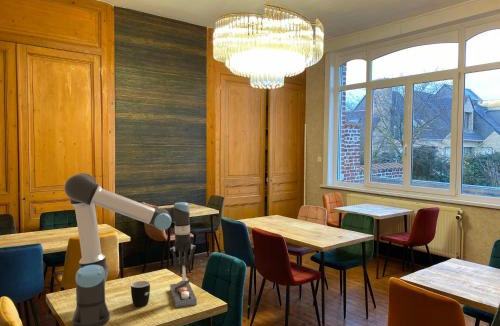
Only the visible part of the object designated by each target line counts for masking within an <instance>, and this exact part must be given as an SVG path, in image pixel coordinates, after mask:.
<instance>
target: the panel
mask: <svg viewBox="0 0 500 326" xmlns="http://www.w3.org/2000/svg"><path fill="white" fill-rule="evenodd" d="M175 284H176V283H173V284H171V283H170V284H169V290H170V294H171V297H172V300H173V304H174V306H175V308H183V307H190V306H197V305H198V299H197V297H196V295H195V293H194V291H193V288H192V286H191V284H190V282H189V283H187V284H185V285H184V286H182V287H186V288H187V291H188V292H189V299H185V300H181V295H180V288H181V287H180V288H178V289H177V290H175V288H174V285H175Z"/></svg>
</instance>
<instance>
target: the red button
mask: <svg viewBox="0 0 500 326" xmlns="http://www.w3.org/2000/svg"><path fill="white" fill-rule="evenodd" d="M184 291H187V288H186V287H181V288H180V295H181V292H184Z"/></svg>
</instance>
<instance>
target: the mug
mask: <svg viewBox="0 0 500 326" xmlns="http://www.w3.org/2000/svg"><path fill="white" fill-rule="evenodd" d="M150 293H151V282H150V281H148V280H139V281H135V282H132V283H131V284H130V295H131V301H132V304H133V306H134V307H136V308H142V307H145V306H148V303H149V301H150Z"/></svg>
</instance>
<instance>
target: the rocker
mask: <svg viewBox="0 0 500 326" xmlns="http://www.w3.org/2000/svg"><path fill="white" fill-rule="evenodd" d="M187 283H189V284H190V279H189V278H188V277H186V281H183V280H182V279H181V280H180V281H179V282H177V283H174V284H175V285H174V288H175V290H177V289H178V288H180V287H182V286H184V285H185V284H187Z"/></svg>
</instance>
